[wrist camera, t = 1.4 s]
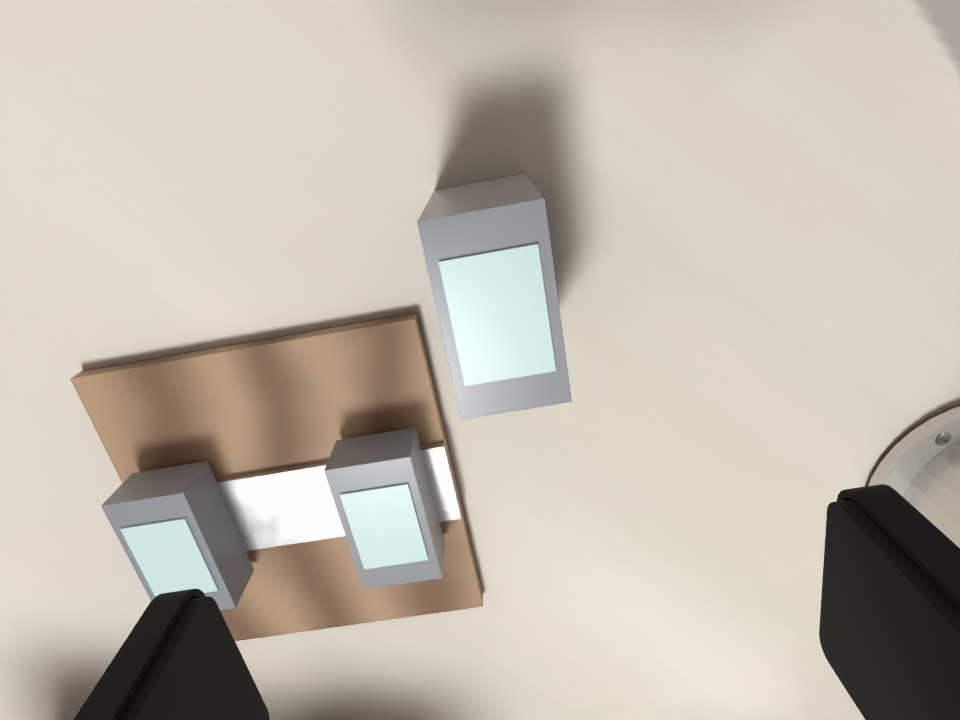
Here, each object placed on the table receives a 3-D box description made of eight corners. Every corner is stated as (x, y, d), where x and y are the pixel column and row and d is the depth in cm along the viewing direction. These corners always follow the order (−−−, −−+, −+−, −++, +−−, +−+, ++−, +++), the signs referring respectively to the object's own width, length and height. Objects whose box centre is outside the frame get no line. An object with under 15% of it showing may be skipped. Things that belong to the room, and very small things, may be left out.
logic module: (524, 173, 28) (544, 199, 20) (547, 325, 32) (572, 403, 23) (434, 190, 29) (417, 222, 20) (465, 339, 32) (460, 421, 23)
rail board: (416, 312, 31) (406, 344, 27) (482, 594, 39) (483, 653, 35) (81, 371, 32) (22, 410, 28) (210, 633, 40) (178, 695, 36)
